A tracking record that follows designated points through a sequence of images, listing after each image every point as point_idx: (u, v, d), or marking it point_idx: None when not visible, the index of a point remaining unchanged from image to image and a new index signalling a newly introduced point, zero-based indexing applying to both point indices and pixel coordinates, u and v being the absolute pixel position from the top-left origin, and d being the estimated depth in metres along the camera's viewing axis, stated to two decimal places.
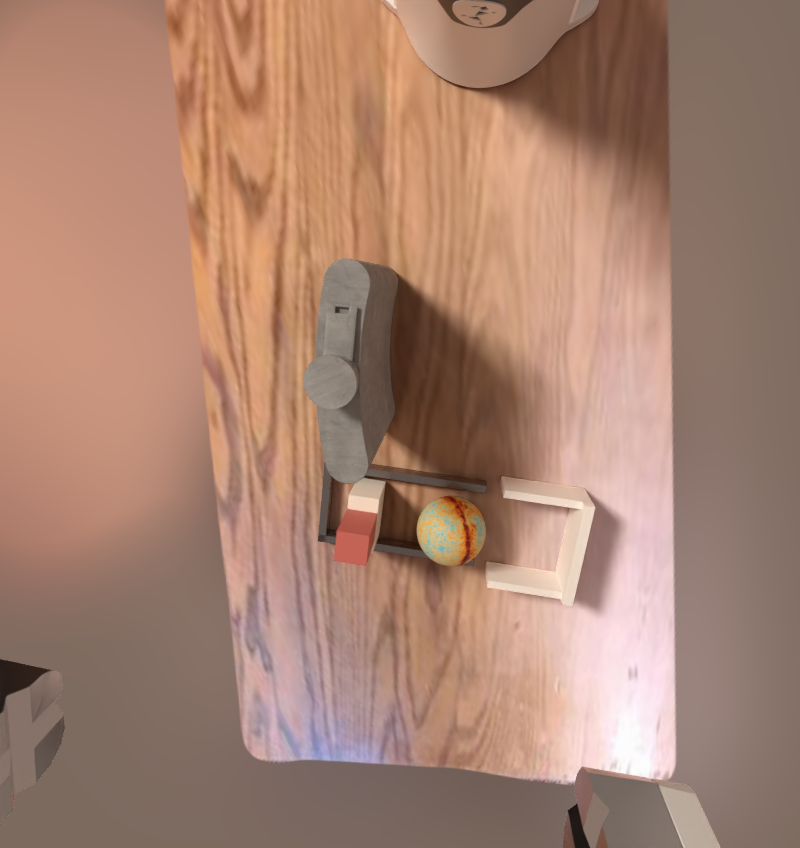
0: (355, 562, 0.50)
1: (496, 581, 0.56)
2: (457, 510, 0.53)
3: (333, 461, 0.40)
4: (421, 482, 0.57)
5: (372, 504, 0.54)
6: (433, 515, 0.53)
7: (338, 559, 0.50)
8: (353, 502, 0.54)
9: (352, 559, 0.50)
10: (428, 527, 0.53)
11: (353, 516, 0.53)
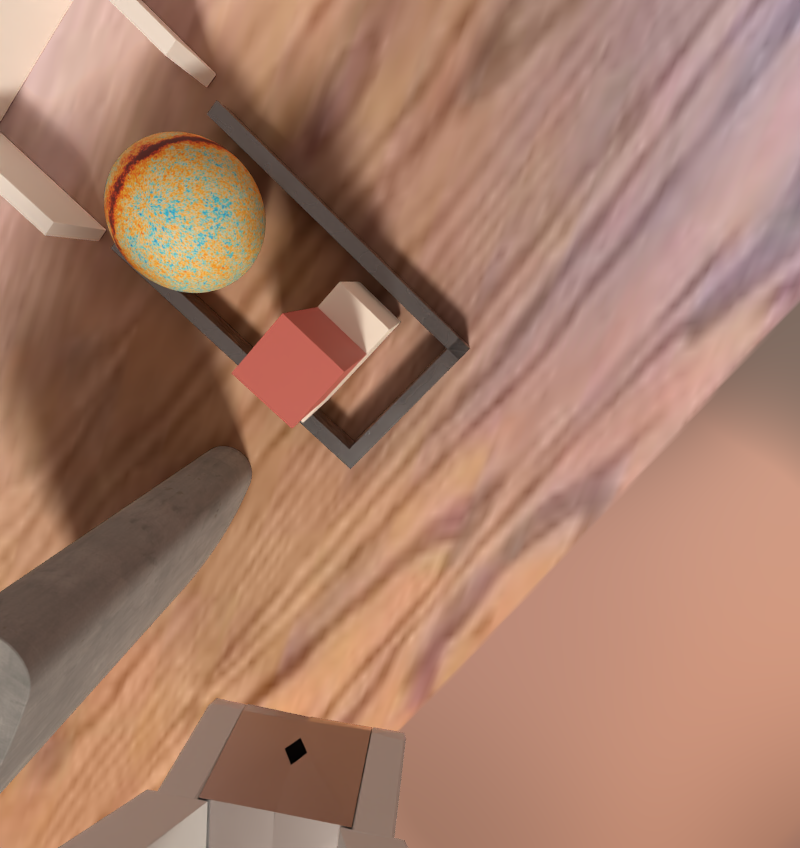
0: (300, 336, 0.20)
1: (152, 41, 0.23)
2: (128, 260, 0.25)
3: (4, 695, 0.16)
4: (215, 329, 0.29)
5: None
6: (175, 281, 0.25)
7: (332, 366, 0.20)
8: None
9: (302, 348, 0.20)
10: (189, 267, 0.24)
11: None
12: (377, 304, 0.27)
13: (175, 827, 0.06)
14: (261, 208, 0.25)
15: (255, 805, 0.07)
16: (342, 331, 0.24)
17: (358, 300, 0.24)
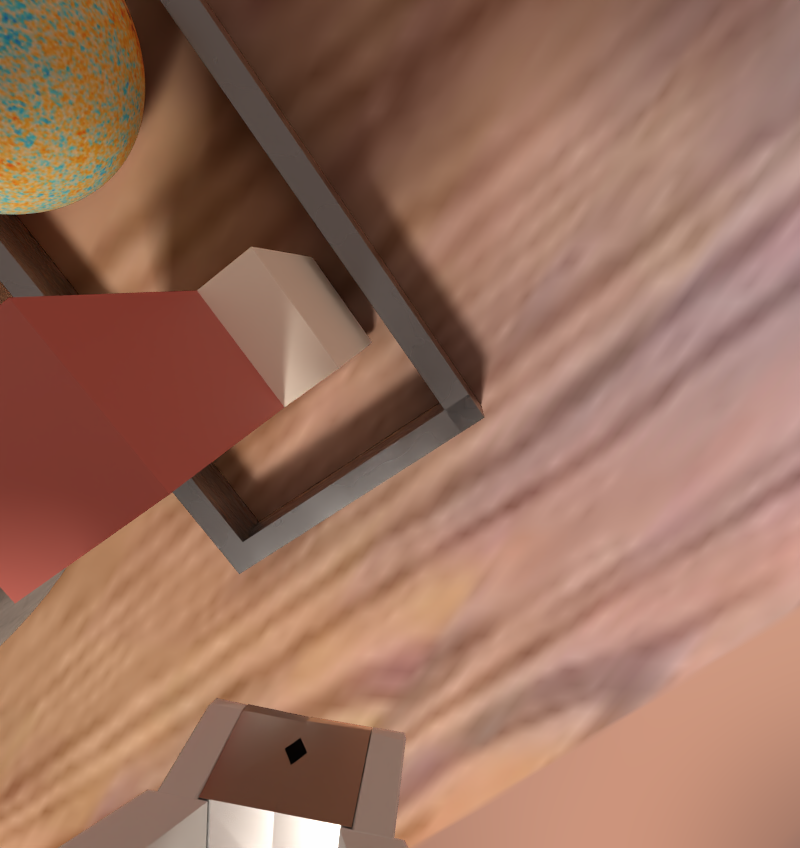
0: (55, 374, 0.07)
1: None
2: None
3: None
4: (32, 288, 0.16)
5: None
6: None
7: (138, 474, 0.07)
8: None
9: (57, 408, 0.07)
10: None
11: None
12: (333, 305, 0.14)
13: (175, 827, 0.06)
14: (127, 64, 0.12)
15: (255, 805, 0.07)
16: (240, 352, 0.11)
17: (285, 294, 0.11)
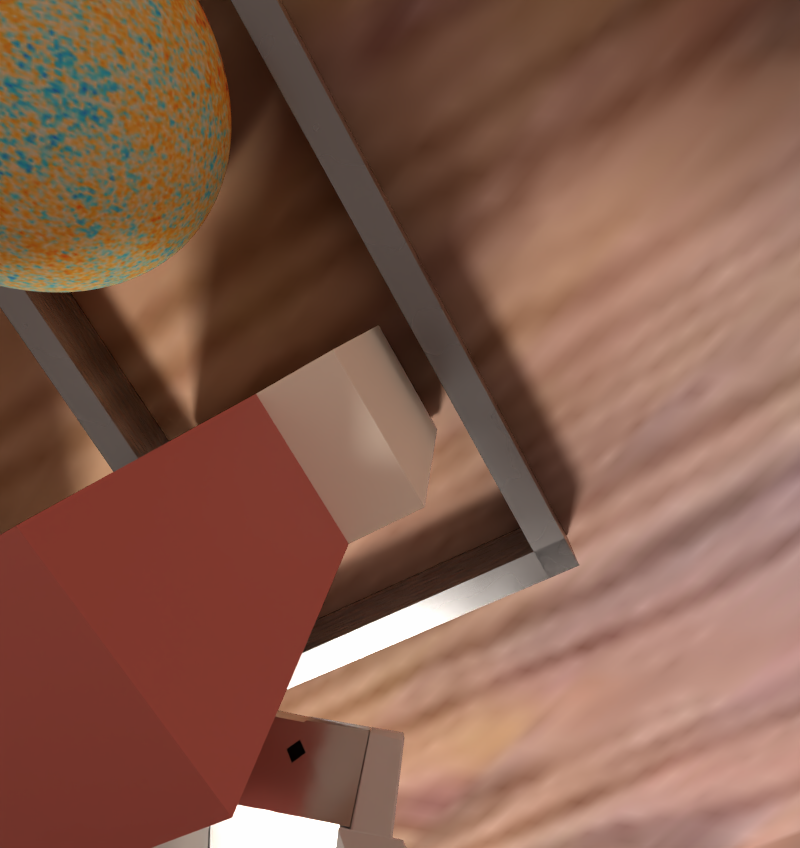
0: (78, 638, 0.04)
1: None
2: None
3: None
4: (65, 360, 0.13)
5: None
6: None
7: (188, 785, 0.05)
8: None
9: (74, 684, 0.04)
10: None
11: None
12: (404, 394, 0.12)
13: None
14: (217, 134, 0.10)
15: (257, 805, 0.07)
16: (302, 475, 0.09)
17: (368, 411, 0.09)
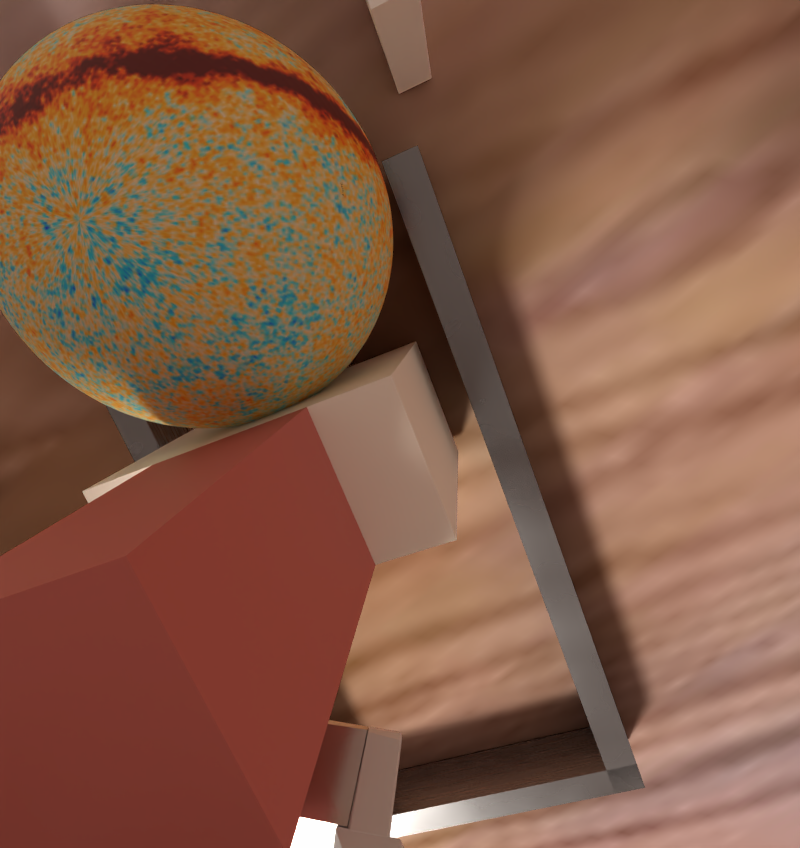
0: (167, 671, 0.04)
1: None
2: None
3: None
4: None
5: None
6: (81, 390, 0.09)
7: (249, 821, 0.05)
8: None
9: (155, 712, 0.04)
10: (126, 400, 0.09)
11: None
12: (436, 416, 0.12)
13: None
14: (374, 324, 0.10)
15: None
16: (341, 493, 0.09)
17: (415, 440, 0.09)
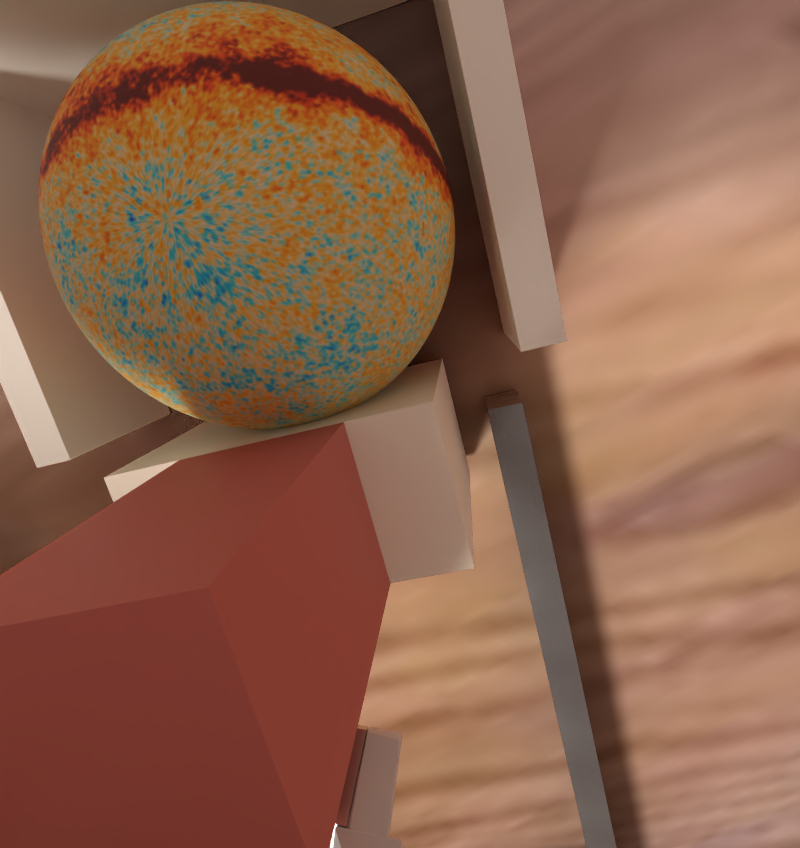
0: (230, 700, 0.04)
1: (512, 303, 0.10)
2: None
3: None
4: None
5: None
6: (119, 372, 0.09)
7: None
8: None
9: (211, 738, 0.04)
10: (168, 392, 0.09)
11: None
12: (456, 437, 0.12)
13: None
14: None
15: None
16: (367, 511, 0.09)
17: (447, 467, 0.09)
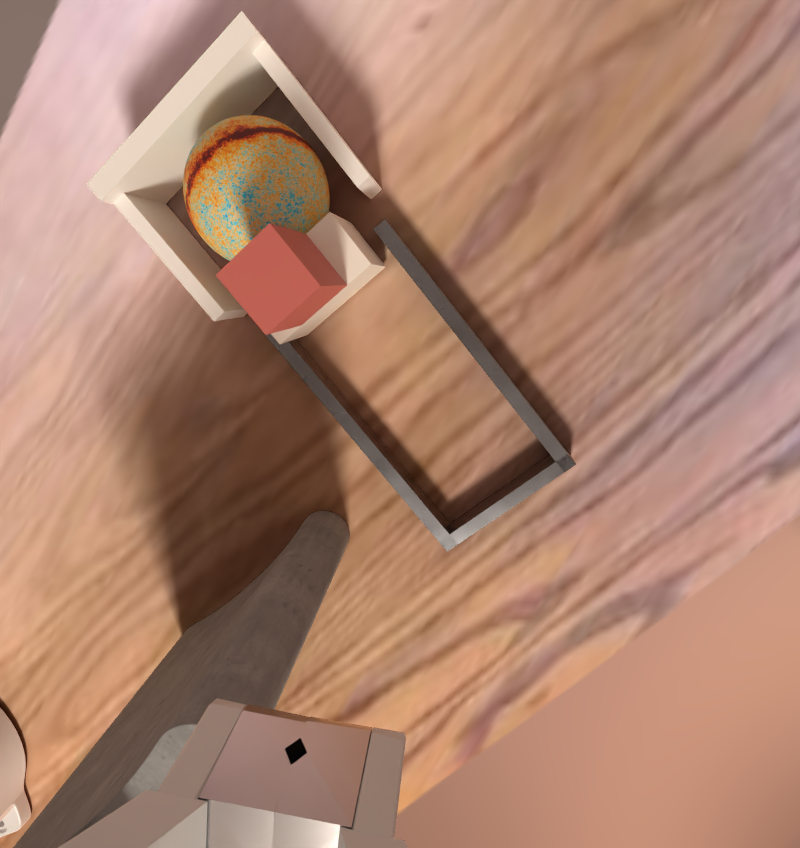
0: (283, 247, 0.21)
1: (347, 172, 0.26)
2: (192, 221, 0.26)
3: None
4: (345, 414, 0.31)
5: None
6: (230, 254, 0.26)
7: (309, 280, 0.21)
8: None
9: (283, 259, 0.21)
10: None
11: None
12: (364, 244, 0.29)
13: (175, 827, 0.06)
14: (327, 210, 0.27)
15: (255, 805, 0.07)
16: (326, 260, 0.26)
17: (345, 232, 0.25)
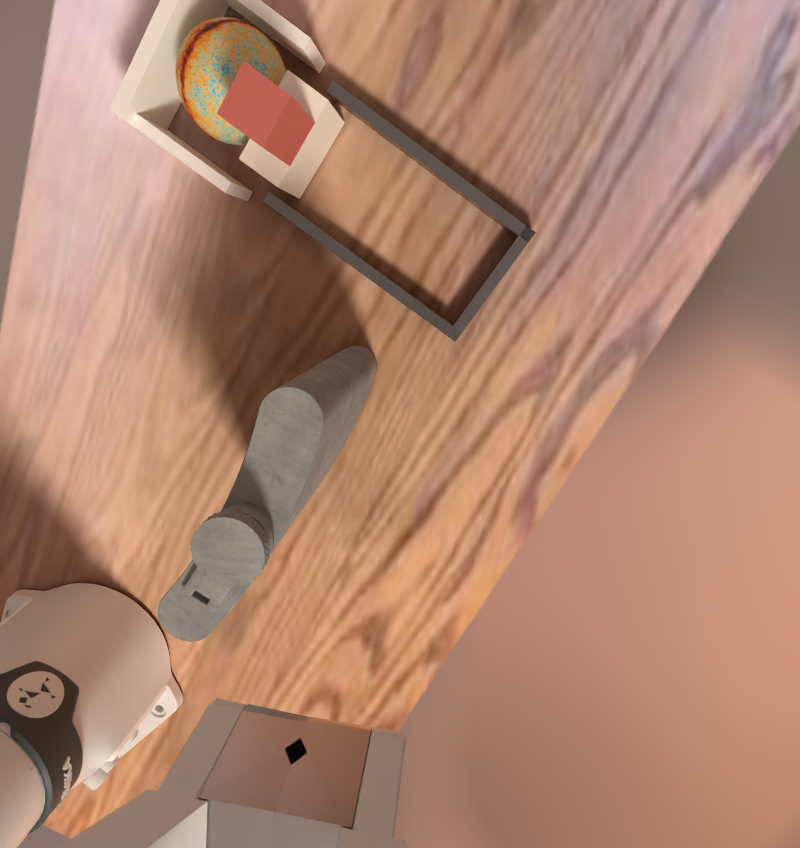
0: (258, 75, 0.29)
1: (293, 41, 0.34)
2: (190, 112, 0.34)
3: (307, 431, 0.26)
4: (344, 249, 0.39)
5: (251, 155, 0.35)
6: (224, 127, 0.34)
7: (282, 94, 0.29)
8: (277, 172, 0.35)
9: (260, 84, 0.29)
10: None
11: None
12: None
13: (175, 827, 0.06)
14: None
15: (255, 805, 0.07)
16: None
17: (303, 81, 0.33)
